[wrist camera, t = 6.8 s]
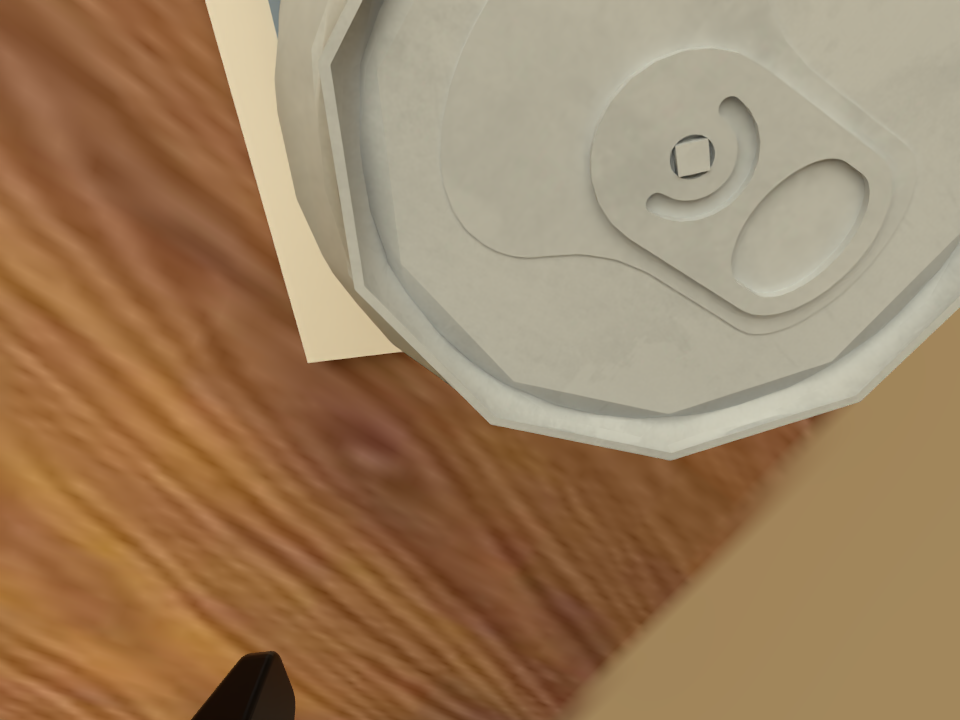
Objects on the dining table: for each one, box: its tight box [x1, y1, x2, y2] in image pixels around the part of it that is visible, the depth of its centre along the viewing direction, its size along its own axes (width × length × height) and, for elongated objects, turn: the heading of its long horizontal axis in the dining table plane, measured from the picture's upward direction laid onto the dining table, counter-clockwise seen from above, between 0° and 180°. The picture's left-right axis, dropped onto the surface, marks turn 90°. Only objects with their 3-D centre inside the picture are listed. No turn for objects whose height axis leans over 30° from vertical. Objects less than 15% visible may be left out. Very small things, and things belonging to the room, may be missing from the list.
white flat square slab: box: [205, 0, 403, 363], centre depth 17 cm, size 16×14×1 cm
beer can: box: [274, 0, 960, 460], centre depth 9 cm, size 5×5×12 cm
